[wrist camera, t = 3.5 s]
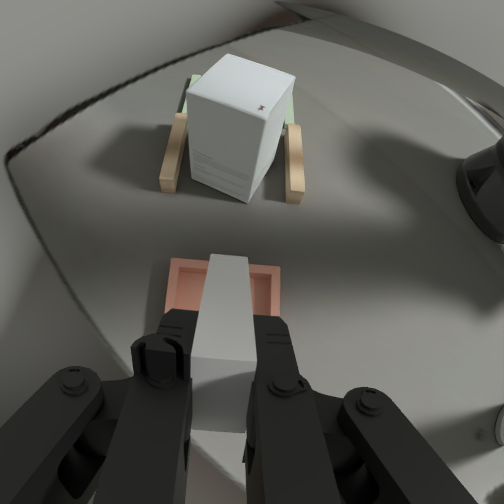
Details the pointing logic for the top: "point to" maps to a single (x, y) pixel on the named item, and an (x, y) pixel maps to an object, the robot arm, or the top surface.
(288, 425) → the robot arm
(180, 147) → the channel
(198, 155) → the supplement box
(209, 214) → the top surface
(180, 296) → the pit tray
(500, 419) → the travel mug
